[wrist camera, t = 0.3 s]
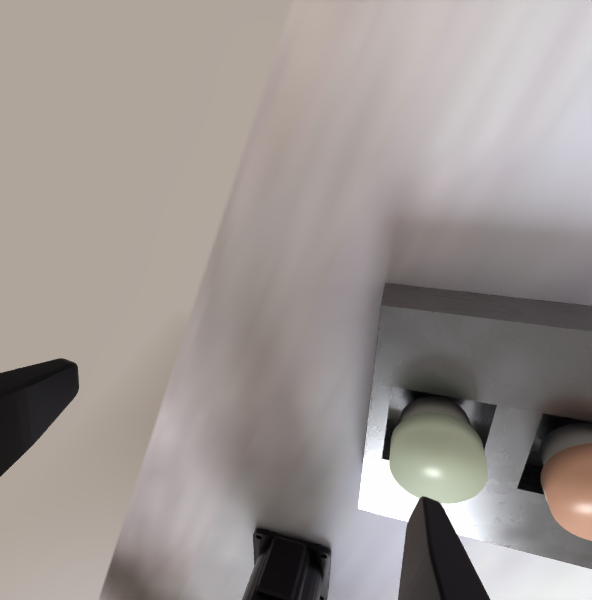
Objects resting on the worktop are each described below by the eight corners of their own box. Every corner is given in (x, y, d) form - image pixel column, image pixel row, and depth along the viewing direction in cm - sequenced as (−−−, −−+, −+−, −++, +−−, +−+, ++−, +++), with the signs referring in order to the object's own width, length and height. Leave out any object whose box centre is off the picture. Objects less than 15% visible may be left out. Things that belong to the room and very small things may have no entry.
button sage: (469, 462, 21) (477, 513, 19) (388, 445, 22) (384, 490, 20) (486, 398, 20) (498, 443, 17) (397, 383, 21) (394, 423, 18)
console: (740, 558, 21) (786, 619, 19) (363, 471, 27) (357, 508, 24) (906, 341, 16) (1004, 383, 13) (385, 283, 21) (381, 305, 18)
